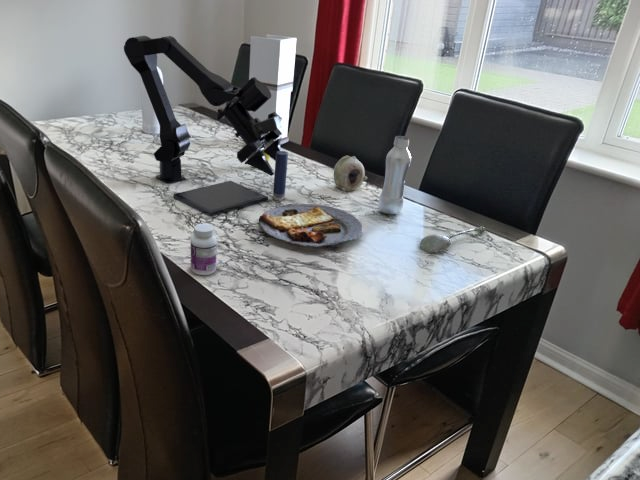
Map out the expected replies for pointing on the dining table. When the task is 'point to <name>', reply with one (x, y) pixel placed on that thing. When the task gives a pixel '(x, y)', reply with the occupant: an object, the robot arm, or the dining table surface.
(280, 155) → the dark blue cylinder
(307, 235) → the food plate
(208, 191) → the tablet
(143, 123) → the bottle
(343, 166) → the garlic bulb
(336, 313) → the dining table surface
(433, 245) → the soupspoon
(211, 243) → the pill bottle
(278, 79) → the white tower box
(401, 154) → the plastic bottle
